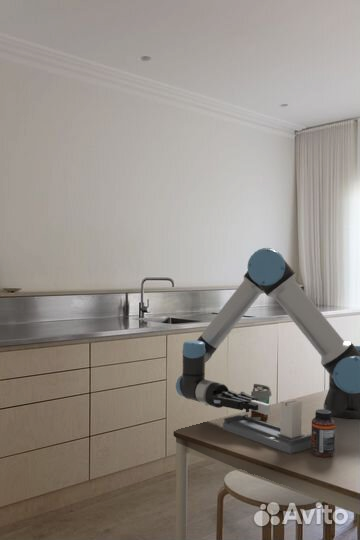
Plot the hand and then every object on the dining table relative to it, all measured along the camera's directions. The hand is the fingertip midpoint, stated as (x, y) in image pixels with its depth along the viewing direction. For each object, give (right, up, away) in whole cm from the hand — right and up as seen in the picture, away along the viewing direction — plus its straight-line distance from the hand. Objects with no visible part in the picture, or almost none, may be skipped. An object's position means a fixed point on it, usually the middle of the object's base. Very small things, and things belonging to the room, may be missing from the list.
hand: (268, 409), depth 151 cm
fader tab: (+5, -6, -6) cm, 10 cm away
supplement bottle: (+12, -9, -12) cm, 19 cm away
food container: (+1, -8, +20) cm, 21 cm away
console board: (0, -8, +1) cm, 8 cm away
